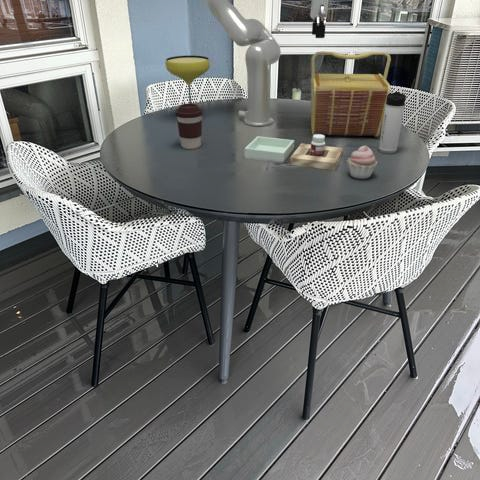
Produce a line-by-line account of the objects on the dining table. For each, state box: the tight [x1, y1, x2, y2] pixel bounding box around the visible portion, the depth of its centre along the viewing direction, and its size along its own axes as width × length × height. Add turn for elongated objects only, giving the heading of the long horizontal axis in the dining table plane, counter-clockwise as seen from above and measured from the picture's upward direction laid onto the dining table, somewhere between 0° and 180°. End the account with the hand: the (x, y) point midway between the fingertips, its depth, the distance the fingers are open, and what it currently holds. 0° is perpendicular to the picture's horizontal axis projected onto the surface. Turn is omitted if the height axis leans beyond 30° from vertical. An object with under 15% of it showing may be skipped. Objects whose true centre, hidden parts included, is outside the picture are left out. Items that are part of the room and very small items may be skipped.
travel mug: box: [378, 91, 407, 155], centre depth 157 cm, size 6×7×20 cm
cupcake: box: [346, 145, 378, 180], centre depth 141 cm, size 9×9×10 cm
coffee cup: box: [174, 102, 204, 150], centre depth 164 cm, size 10×10×15 cm
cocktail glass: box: [165, 55, 211, 119], centre depth 191 cm, size 18×18×25 cm
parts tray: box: [244, 135, 295, 164], centre depth 160 cm, size 14×14×4 cm
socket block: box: [289, 143, 344, 171], centre depth 155 cm, size 15×15×2 cm
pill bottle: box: [310, 134, 326, 157], centre depth 153 cm, size 5×5×8 cm
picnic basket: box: [310, 50, 392, 138], centre depth 175 cm, size 29×26×30 cm
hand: (318, 36), depth 165 cm, fingers open, 9 cm apart
